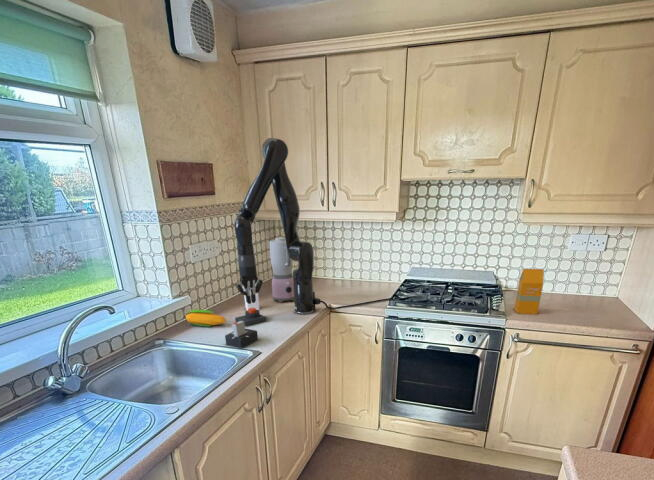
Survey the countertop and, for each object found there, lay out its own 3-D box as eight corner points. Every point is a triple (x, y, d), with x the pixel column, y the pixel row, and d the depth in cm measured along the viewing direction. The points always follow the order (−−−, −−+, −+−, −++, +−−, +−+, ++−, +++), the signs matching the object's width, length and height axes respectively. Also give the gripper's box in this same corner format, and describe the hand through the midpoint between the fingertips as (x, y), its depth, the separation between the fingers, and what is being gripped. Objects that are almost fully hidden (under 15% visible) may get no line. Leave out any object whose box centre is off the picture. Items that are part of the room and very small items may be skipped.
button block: (256, 316, 193) (255, 308, 191) (266, 321, 187) (265, 313, 185) (235, 322, 187) (234, 313, 185) (245, 326, 180) (244, 318, 179)
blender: (269, 298, 221) (264, 237, 208) (289, 295, 227) (286, 235, 213) (281, 305, 209) (276, 241, 195) (302, 302, 214) (299, 239, 201)
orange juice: (537, 314, 190) (546, 271, 181) (517, 313, 191) (524, 270, 183) (533, 309, 197) (541, 267, 188) (514, 308, 198) (521, 267, 190)
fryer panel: (242, 336, 169) (241, 327, 167) (260, 340, 165) (259, 330, 163) (223, 346, 160) (222, 336, 158) (242, 350, 156) (241, 340, 154)
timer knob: (241, 332, 162) (240, 320, 160) (245, 333, 161) (243, 320, 159) (234, 336, 158) (232, 323, 156) (237, 337, 157) (236, 324, 155)
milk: (257, 306, 208) (253, 263, 199) (259, 309, 203) (255, 265, 194) (245, 308, 206) (240, 264, 197) (247, 311, 201) (242, 266, 192)
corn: (190, 305, 185) (229, 308, 180) (193, 320, 189) (231, 324, 183) (180, 311, 179) (220, 314, 173) (184, 327, 182) (223, 330, 177)
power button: (253, 310, 190) (253, 307, 189) (257, 312, 187) (257, 308, 186) (247, 312, 187) (246, 308, 187) (251, 314, 185) (250, 310, 184)
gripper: (237, 268, 171) (242, 307, 179) (265, 263, 179) (268, 301, 187) (228, 265, 176) (233, 304, 184) (256, 261, 185) (259, 298, 192)
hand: (251, 302), depth 185 cm, fingers closed
